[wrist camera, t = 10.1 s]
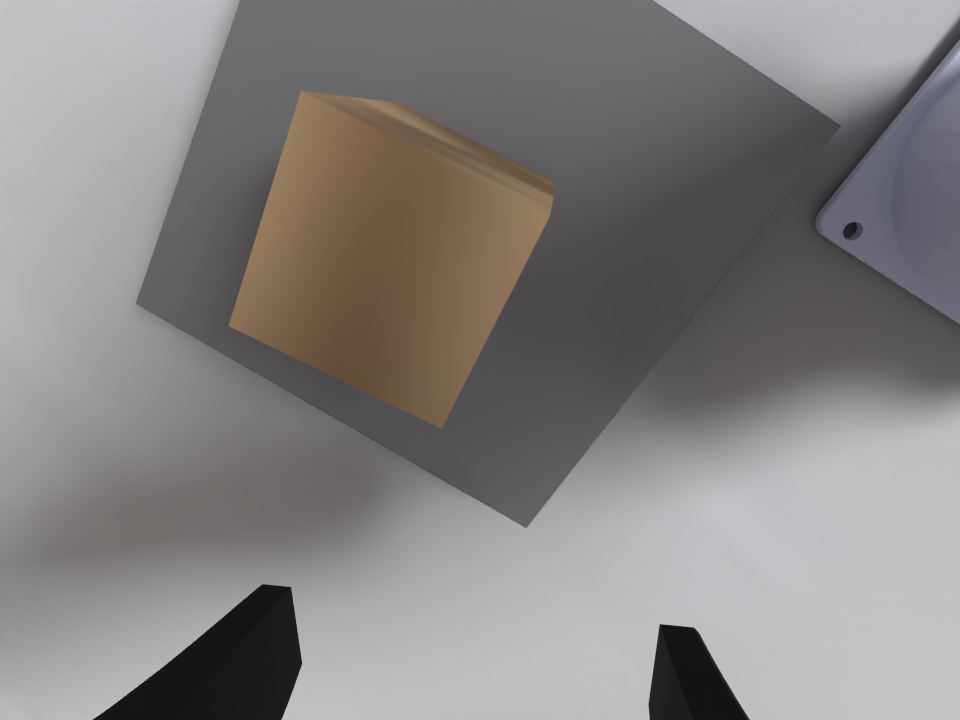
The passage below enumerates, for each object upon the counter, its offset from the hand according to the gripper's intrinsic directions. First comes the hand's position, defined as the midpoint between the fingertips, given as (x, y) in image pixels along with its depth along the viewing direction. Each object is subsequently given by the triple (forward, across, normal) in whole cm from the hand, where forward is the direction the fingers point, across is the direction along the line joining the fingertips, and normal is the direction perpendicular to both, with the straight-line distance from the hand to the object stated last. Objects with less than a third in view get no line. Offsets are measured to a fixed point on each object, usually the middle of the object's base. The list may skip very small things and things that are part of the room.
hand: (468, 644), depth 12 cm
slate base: (+10, +2, -7) cm, 13 cm away
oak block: (+7, +2, -7) cm, 10 cm away
